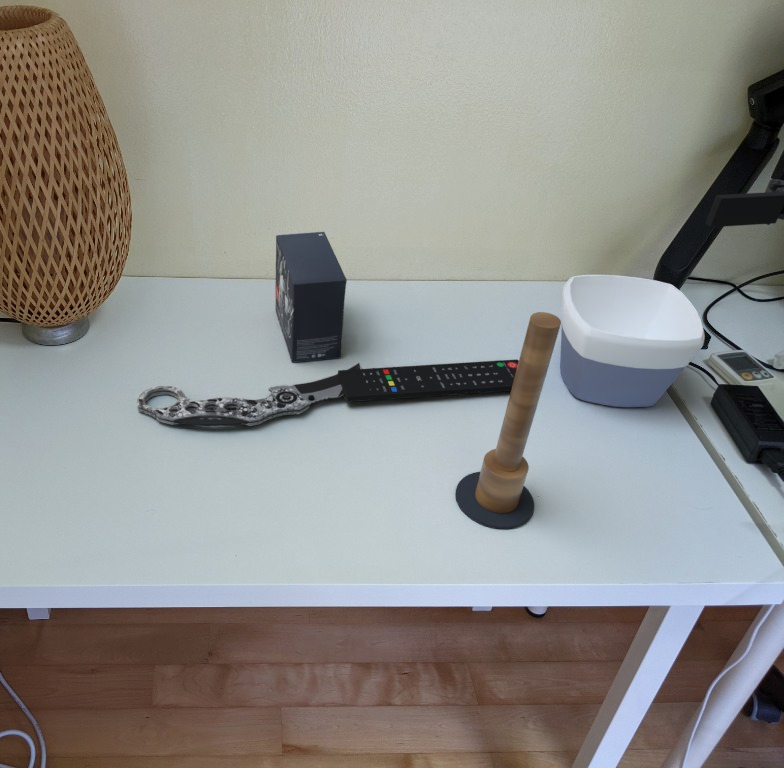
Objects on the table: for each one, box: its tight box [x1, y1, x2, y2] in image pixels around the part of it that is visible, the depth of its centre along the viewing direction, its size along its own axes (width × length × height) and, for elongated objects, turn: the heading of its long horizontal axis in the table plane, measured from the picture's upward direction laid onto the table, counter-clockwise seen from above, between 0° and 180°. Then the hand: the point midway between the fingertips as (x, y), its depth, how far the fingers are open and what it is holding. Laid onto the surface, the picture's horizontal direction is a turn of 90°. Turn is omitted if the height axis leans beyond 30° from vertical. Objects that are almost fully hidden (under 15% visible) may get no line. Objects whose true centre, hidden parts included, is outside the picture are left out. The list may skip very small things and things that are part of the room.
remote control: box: [337, 359, 519, 403], centre depth 96 cm, size 5×24×1 cm, turn 99°
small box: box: [274, 231, 348, 363], centre depth 101 cm, size 13×7×12 cm, turn 10°
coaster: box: [454, 471, 535, 530], centre depth 81 cm, size 8×8×1 cm
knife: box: [136, 362, 362, 427], centre depth 93 cm, size 28×2×10 cm
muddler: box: [475, 311, 562, 513], centre depth 74 cm, size 4×4×22 cm
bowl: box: [559, 274, 706, 408], centre depth 94 cm, size 15×15×11 cm
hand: (764, 246), depth 63 cm, fingers open, 13 cm apart
